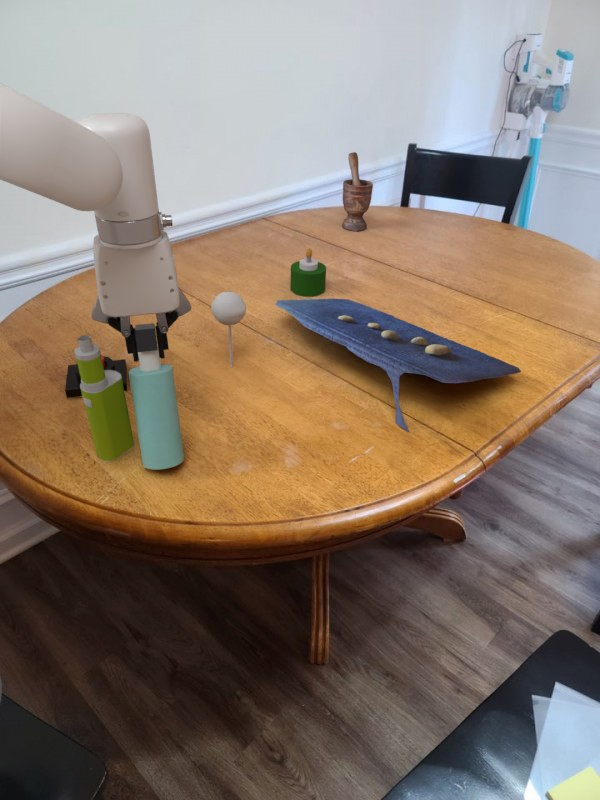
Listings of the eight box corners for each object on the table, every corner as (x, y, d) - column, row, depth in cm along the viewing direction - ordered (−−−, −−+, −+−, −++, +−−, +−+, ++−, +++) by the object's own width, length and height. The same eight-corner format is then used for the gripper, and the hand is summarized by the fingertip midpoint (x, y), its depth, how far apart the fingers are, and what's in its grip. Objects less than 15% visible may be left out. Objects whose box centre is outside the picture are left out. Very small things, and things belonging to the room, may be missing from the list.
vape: (91, 455, 85) (62, 340, 73) (121, 434, 89) (98, 322, 77) (108, 465, 83) (81, 348, 71) (138, 443, 87) (117, 329, 76)
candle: (283, 287, 134) (283, 247, 129) (308, 279, 139) (310, 239, 133) (306, 299, 130) (308, 258, 124) (332, 290, 134) (334, 249, 128)
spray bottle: (142, 456, 85) (122, 325, 79) (183, 450, 86) (166, 321, 80) (142, 472, 79) (120, 332, 73) (185, 466, 81) (167, 328, 75)
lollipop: (254, 365, 106) (252, 291, 98) (234, 379, 102) (230, 304, 94) (229, 354, 109) (225, 282, 100) (208, 367, 105) (202, 294, 96)
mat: (254, 346, 116) (263, 292, 112) (342, 339, 135) (353, 292, 131) (430, 444, 88) (451, 376, 84) (511, 417, 107) (532, 361, 102)
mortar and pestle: (328, 222, 174) (332, 153, 162) (350, 218, 178) (356, 150, 166) (351, 233, 166) (357, 162, 154) (374, 229, 170) (381, 158, 158)
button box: (66, 398, 96) (62, 381, 94) (69, 373, 103) (65, 356, 100) (127, 390, 99) (124, 374, 96) (126, 366, 105) (123, 350, 103)
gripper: (193, 213, 74) (203, 336, 85) (60, 221, 70) (89, 348, 81) (200, 233, 68) (210, 362, 79) (56, 242, 64) (87, 376, 75)
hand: (148, 354), depth 80 cm, fingers closed on spray bottle, 2 cm apart
